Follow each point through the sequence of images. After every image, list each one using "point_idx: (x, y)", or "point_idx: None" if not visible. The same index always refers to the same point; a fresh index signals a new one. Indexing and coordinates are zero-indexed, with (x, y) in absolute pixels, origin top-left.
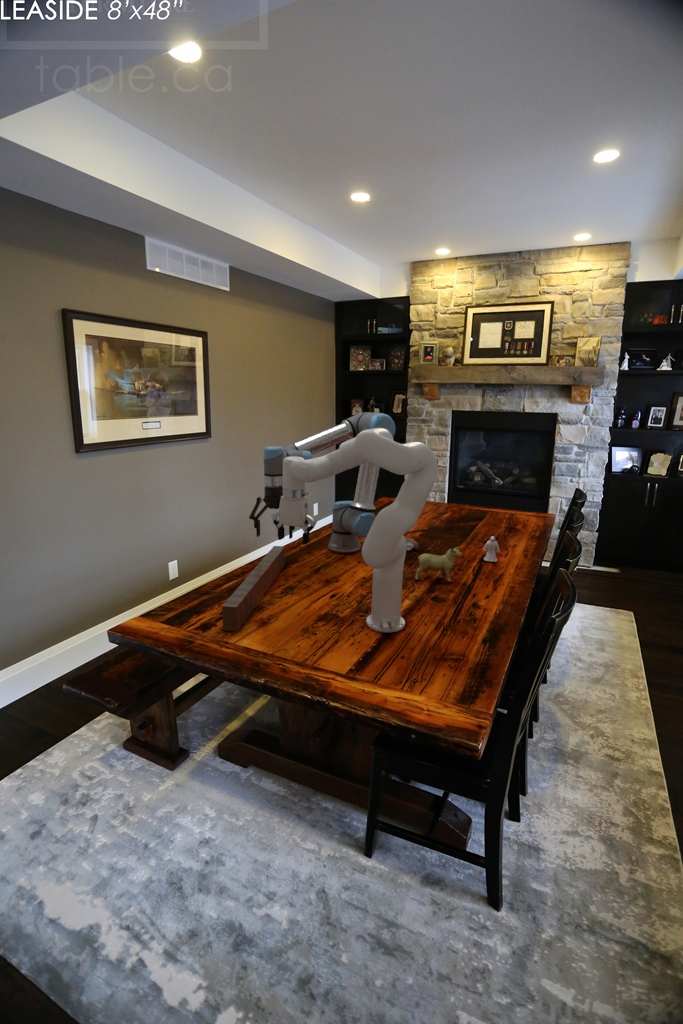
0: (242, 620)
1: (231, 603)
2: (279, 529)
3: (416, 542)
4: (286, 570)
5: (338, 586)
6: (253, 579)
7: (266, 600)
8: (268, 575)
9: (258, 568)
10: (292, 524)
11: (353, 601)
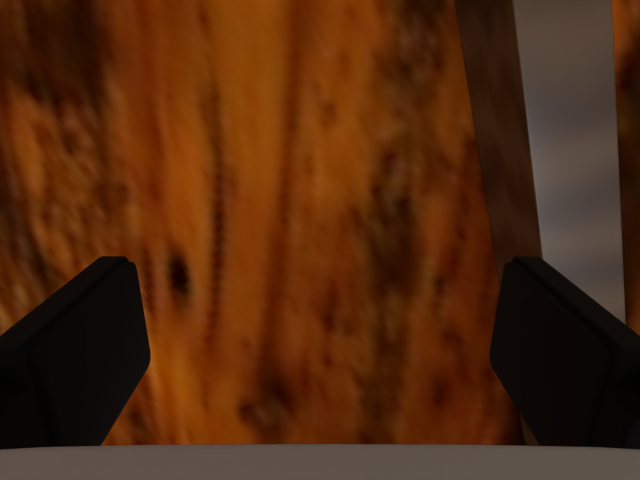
0: None
1: None
2: (621, 345)
3: None
4: (496, 418)
5: (212, 369)
6: (553, 39)
7: (435, 93)
8: (519, 251)
9: (596, 228)
10: (234, 473)
11: (70, 264)
